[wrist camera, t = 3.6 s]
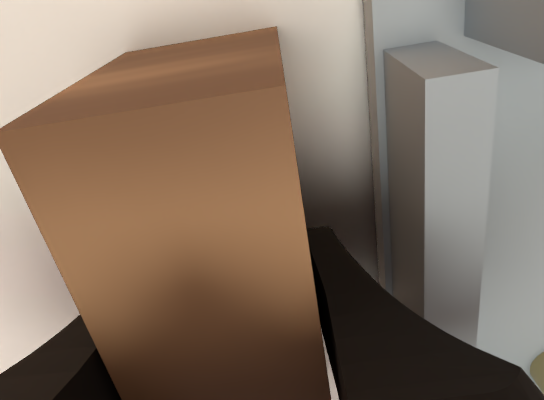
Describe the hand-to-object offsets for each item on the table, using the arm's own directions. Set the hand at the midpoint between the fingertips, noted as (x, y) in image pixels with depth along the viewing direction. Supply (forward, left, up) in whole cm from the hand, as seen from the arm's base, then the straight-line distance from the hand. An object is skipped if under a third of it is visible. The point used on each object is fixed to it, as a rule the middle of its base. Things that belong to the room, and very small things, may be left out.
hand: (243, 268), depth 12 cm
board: (0, 0, -2) cm, 2 cm away
